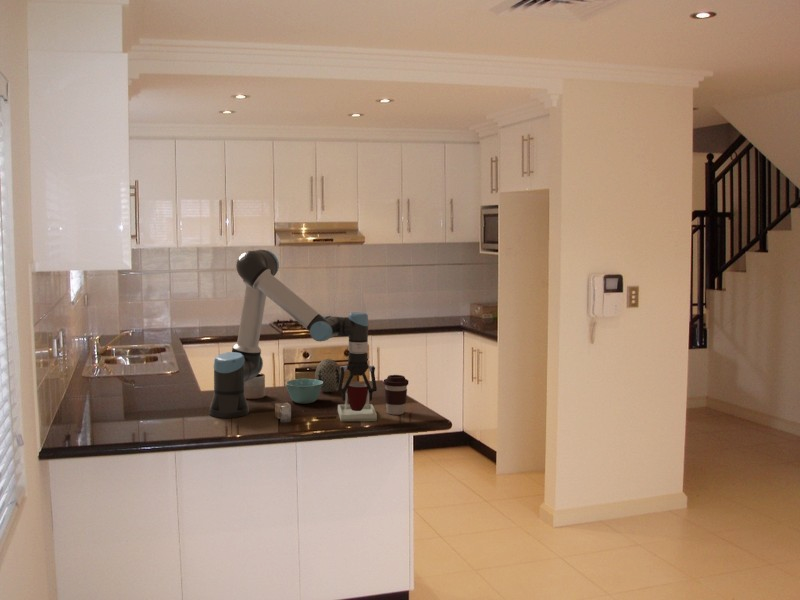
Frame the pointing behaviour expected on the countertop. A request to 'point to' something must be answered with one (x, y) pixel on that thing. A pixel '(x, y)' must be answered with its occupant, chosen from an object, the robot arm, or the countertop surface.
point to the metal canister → (285, 413)
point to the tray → (357, 413)
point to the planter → (255, 387)
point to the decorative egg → (328, 375)
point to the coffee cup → (395, 394)
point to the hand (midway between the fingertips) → (356, 408)
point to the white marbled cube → (277, 409)
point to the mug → (357, 395)
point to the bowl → (304, 390)
